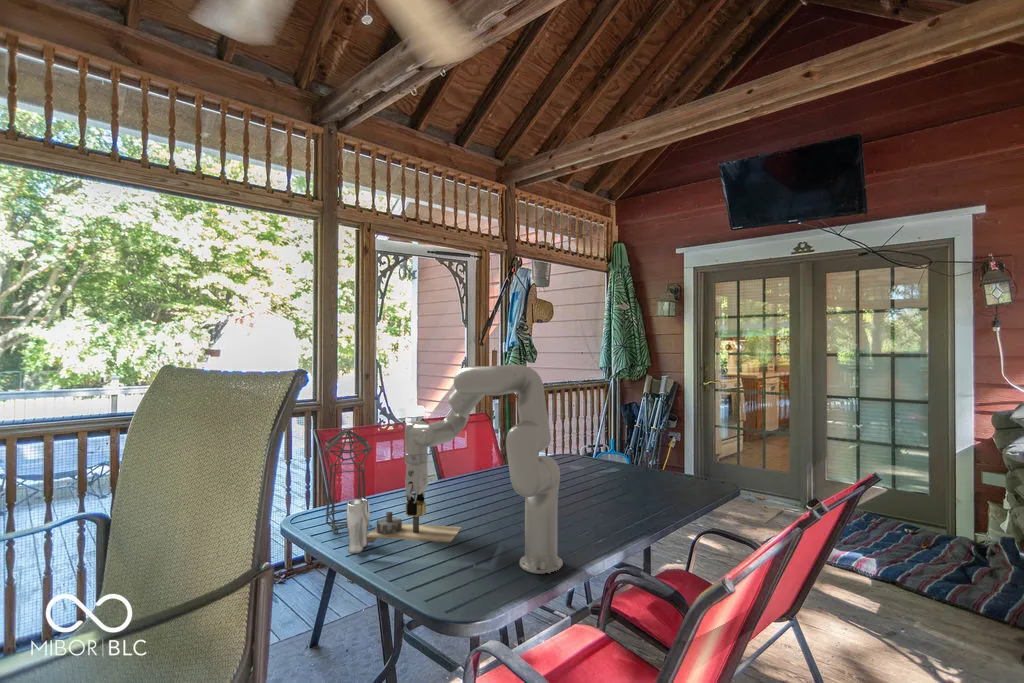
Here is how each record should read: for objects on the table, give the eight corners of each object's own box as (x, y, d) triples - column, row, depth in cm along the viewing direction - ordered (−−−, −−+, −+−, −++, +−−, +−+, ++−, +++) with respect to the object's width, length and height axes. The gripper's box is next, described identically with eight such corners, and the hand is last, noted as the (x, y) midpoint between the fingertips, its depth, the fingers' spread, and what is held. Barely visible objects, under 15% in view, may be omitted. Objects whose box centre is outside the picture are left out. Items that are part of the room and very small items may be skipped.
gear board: (450, 547, 165) (450, 523, 165) (364, 541, 169) (364, 518, 169) (461, 531, 178) (461, 509, 179) (382, 526, 183) (382, 505, 183)
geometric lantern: (366, 519, 191) (368, 425, 190) (370, 535, 176) (373, 432, 176) (320, 524, 185) (323, 426, 185) (321, 540, 170) (323, 434, 170)
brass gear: (421, 517, 170) (421, 506, 170) (402, 516, 171) (402, 505, 171) (428, 511, 177) (428, 500, 177) (409, 509, 178) (409, 499, 178)
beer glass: (361, 543, 167) (361, 497, 167) (374, 549, 163) (374, 501, 163) (341, 550, 162) (342, 502, 162) (354, 556, 157) (355, 506, 157)
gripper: (418, 464, 165) (417, 520, 165) (434, 453, 182) (434, 504, 182) (395, 463, 166) (395, 519, 166) (414, 452, 183) (414, 503, 183)
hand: (415, 510), depth 174 cm, fingers closed on brass gear, 6 cm apart
